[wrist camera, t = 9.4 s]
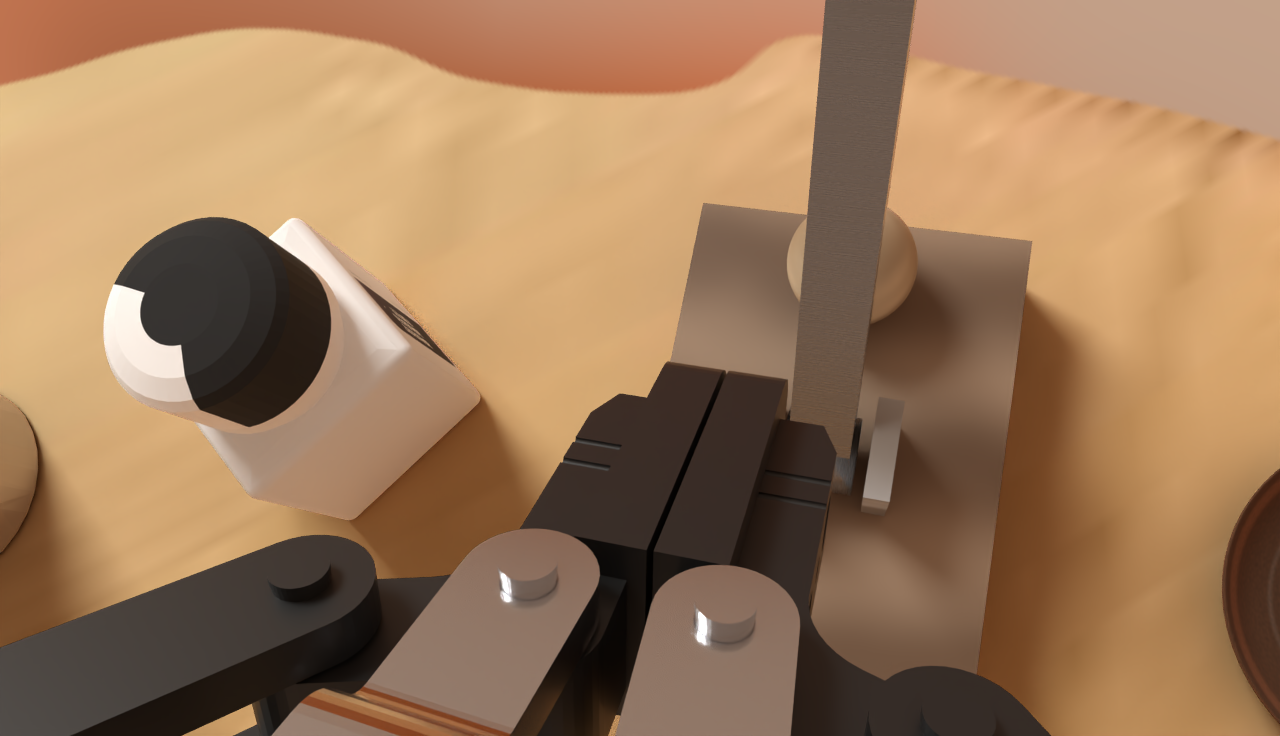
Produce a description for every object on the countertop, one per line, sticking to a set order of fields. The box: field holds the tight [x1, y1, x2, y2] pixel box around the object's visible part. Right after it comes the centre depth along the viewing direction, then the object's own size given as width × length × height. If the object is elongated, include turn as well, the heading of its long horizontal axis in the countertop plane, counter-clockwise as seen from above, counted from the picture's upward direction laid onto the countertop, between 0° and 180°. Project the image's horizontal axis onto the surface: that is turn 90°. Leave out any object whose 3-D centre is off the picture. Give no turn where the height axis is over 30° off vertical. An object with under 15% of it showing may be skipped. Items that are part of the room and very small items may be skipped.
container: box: [104, 217, 480, 520], centre depth 37 cm, size 8×8×13 cm
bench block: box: [670, 203, 1032, 680], centre depth 35 cm, size 18×12×8 cm, turn 168°
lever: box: [787, 0, 917, 496], centre depth 28 cm, size 4×4×20 cm
